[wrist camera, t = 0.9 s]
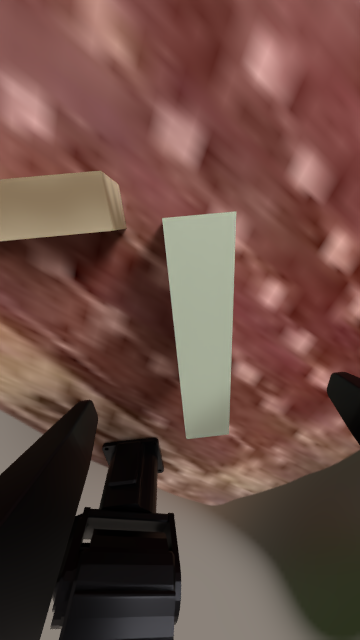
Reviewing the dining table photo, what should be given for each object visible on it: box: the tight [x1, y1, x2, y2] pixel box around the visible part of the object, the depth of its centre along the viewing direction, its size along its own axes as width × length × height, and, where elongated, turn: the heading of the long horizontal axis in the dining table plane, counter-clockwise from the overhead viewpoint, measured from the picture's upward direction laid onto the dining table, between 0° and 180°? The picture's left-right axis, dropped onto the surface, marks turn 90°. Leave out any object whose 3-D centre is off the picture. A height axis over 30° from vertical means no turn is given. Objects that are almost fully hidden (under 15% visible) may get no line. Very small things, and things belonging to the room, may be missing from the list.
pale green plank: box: [162, 212, 236, 439], centre depth 13 cm, size 12×3×8 cm, turn 5°
